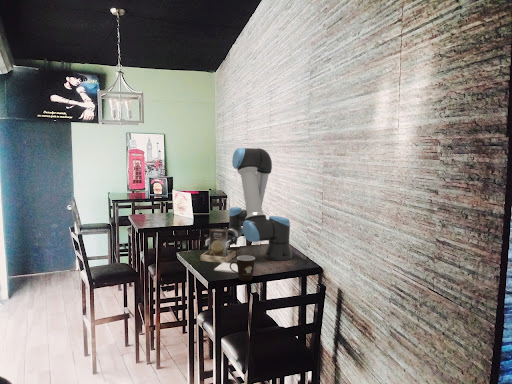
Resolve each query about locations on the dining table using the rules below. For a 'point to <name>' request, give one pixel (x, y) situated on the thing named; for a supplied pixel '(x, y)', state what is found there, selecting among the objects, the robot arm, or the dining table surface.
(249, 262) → the coffee mug
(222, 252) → the coffee box
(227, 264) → the white napkin
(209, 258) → the pocket frame
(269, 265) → the dining table surface
